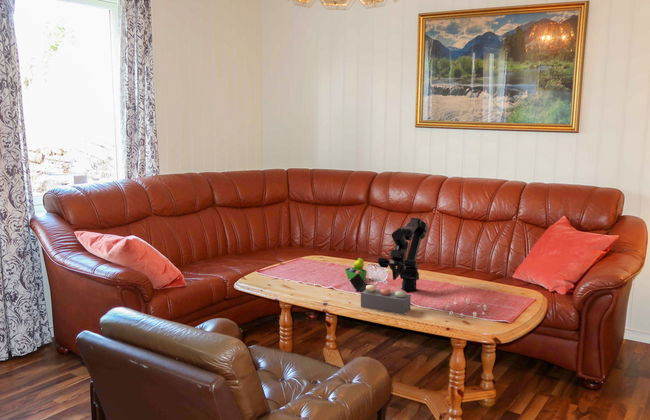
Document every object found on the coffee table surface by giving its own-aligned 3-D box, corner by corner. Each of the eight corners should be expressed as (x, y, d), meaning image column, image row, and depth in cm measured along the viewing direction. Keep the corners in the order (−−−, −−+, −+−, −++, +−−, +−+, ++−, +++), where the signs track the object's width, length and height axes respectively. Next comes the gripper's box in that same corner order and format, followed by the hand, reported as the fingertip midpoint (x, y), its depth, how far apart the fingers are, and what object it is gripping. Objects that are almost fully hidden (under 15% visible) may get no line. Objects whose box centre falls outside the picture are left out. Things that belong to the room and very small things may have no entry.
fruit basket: (344, 278, 319) (343, 258, 317) (356, 274, 324) (356, 255, 322) (357, 283, 310) (356, 262, 308) (369, 279, 315) (369, 259, 313)
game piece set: (454, 300, 281) (454, 293, 280) (494, 309, 269) (494, 301, 268) (435, 312, 266) (435, 304, 266) (476, 322, 254) (476, 314, 253)
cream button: (373, 292, 278) (373, 284, 278) (377, 295, 274) (377, 287, 273) (364, 293, 277) (364, 285, 276) (368, 296, 272) (368, 288, 271)
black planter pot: (372, 290, 293) (359, 272, 295) (360, 298, 295) (347, 280, 297) (377, 285, 305) (365, 268, 307) (365, 294, 307) (353, 277, 309)
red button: (387, 296, 275) (387, 287, 274) (392, 299, 270) (392, 290, 270) (378, 297, 273) (378, 289, 272) (383, 300, 269) (383, 292, 268)
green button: (402, 298, 271) (402, 290, 270) (407, 301, 267) (407, 293, 266) (393, 300, 269) (393, 291, 268) (398, 303, 265) (398, 294, 264)
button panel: (360, 306, 275) (360, 292, 273) (368, 301, 281) (368, 288, 280) (403, 314, 264) (403, 300, 262) (410, 309, 270) (410, 294, 269)
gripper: (378, 240, 277) (371, 269, 269) (416, 244, 269) (409, 273, 262) (384, 252, 286) (376, 280, 278) (421, 256, 278) (414, 284, 270)
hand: (394, 279), depth 272 cm, fingers closed
